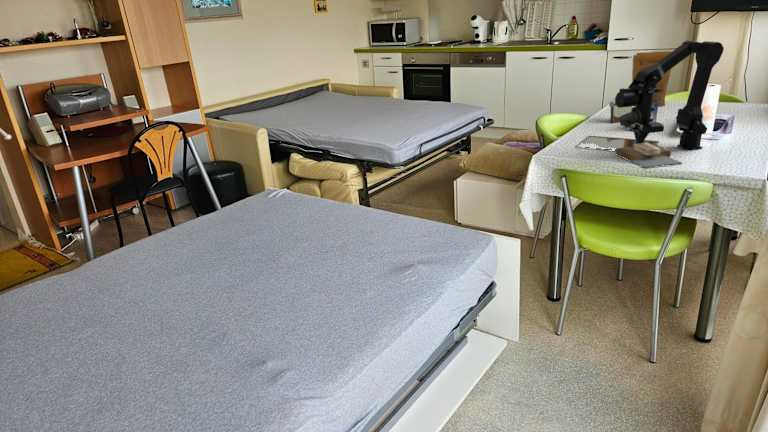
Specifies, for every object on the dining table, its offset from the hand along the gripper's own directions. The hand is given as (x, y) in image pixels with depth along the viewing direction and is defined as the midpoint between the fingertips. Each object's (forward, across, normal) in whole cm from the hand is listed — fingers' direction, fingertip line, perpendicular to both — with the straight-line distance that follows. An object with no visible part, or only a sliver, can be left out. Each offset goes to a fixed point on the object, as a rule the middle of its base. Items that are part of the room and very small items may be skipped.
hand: (638, 145), depth 198 cm
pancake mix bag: (+4, -78, +55) cm, 96 cm away
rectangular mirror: (+4, -14, 0) cm, 15 cm away
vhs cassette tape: (+4, -36, +26) cm, 45 cm away
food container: (+4, -52, +22) cm, 57 cm away
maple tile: (+1, +5, 0) cm, 5 cm away
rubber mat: (+3, +12, -1) cm, 13 cm away
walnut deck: (+3, +3, 0) cm, 4 cm away
